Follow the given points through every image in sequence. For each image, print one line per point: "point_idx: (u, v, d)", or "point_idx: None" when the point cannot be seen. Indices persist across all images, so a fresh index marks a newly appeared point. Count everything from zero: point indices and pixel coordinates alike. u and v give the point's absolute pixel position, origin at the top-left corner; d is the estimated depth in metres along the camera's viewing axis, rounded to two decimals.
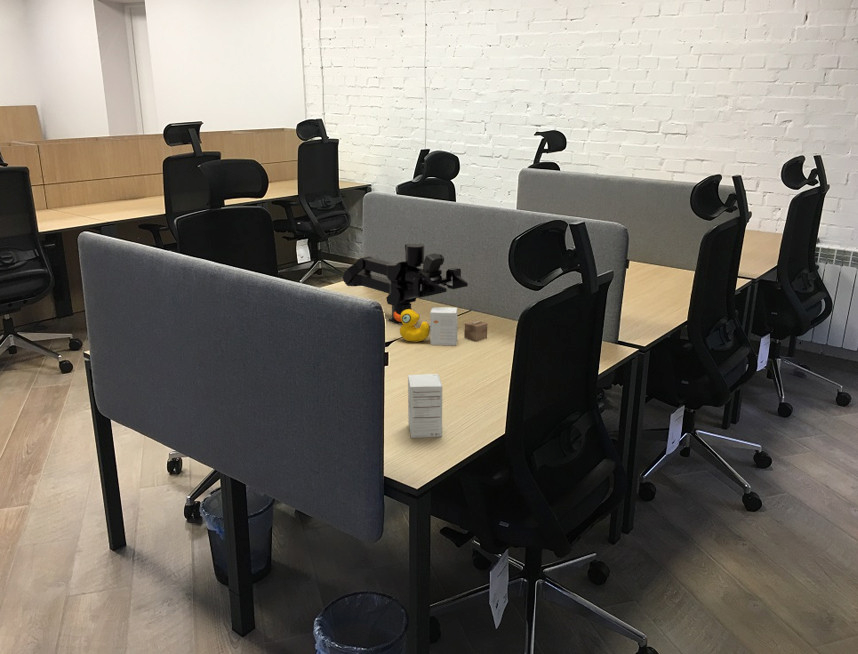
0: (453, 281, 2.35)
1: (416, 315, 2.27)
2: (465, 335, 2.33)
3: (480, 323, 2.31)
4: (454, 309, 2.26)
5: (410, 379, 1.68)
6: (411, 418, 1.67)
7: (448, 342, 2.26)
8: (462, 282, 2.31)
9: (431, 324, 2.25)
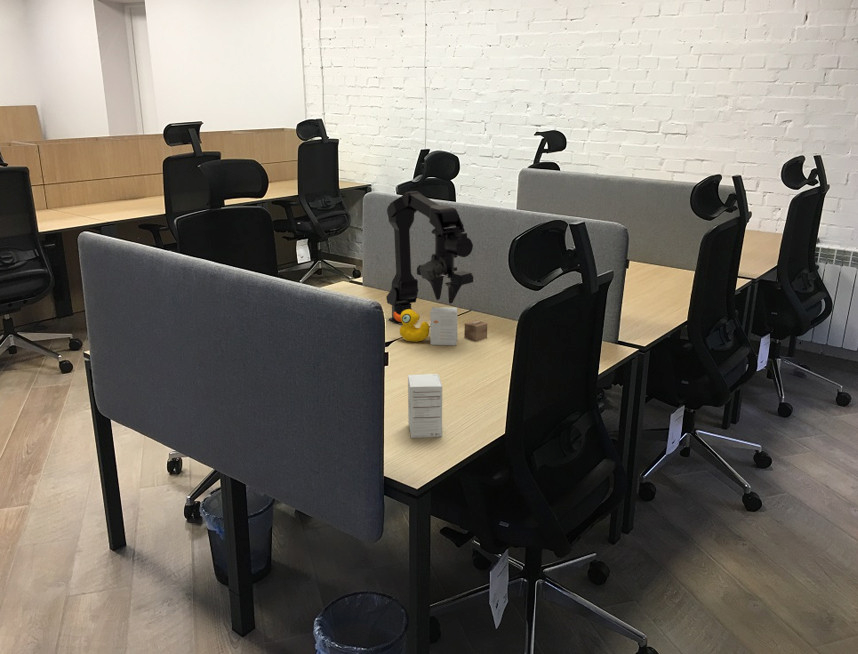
0: None
1: (416, 315, 2.27)
2: (465, 335, 2.33)
3: (480, 323, 2.31)
4: (454, 309, 2.26)
5: (410, 379, 1.68)
6: (411, 418, 1.67)
7: (448, 342, 2.26)
8: None
9: (431, 324, 2.25)
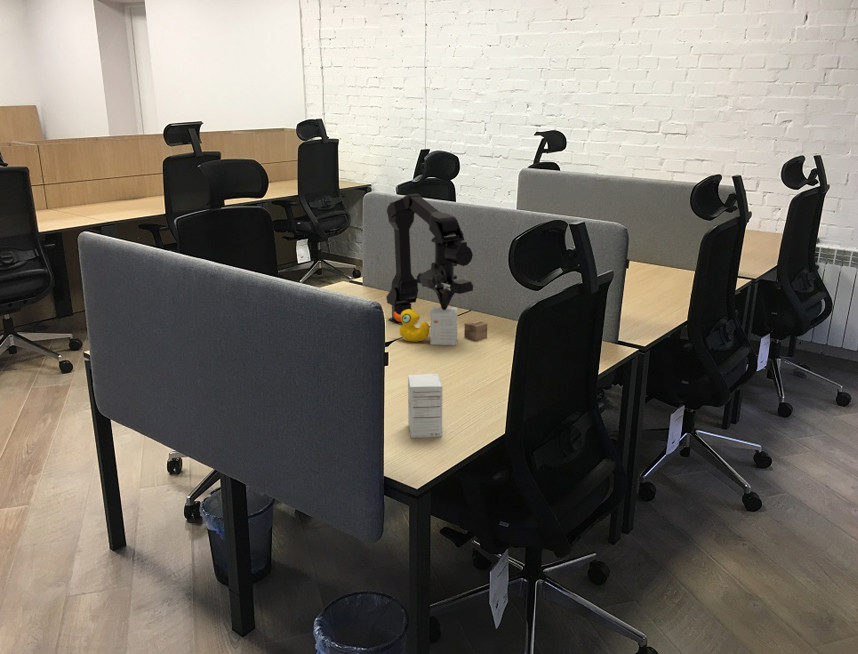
0: None
1: (416, 315, 2.27)
2: (465, 335, 2.33)
3: (480, 323, 2.31)
4: (454, 309, 2.26)
5: (410, 379, 1.68)
6: (411, 418, 1.67)
7: (448, 342, 2.26)
8: None
9: (431, 324, 2.25)
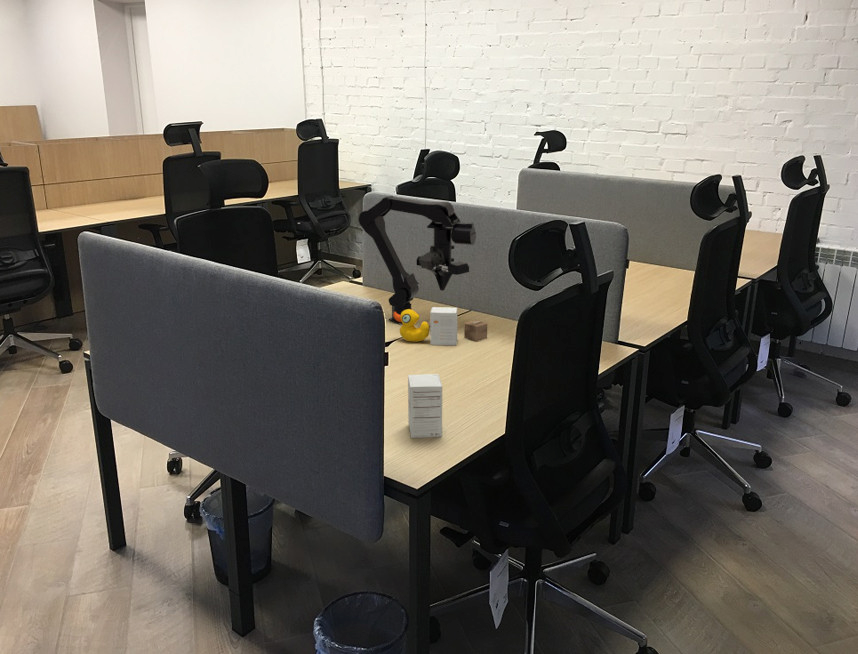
0: None
1: (416, 315, 2.27)
2: (465, 335, 2.33)
3: (480, 323, 2.31)
4: (454, 309, 2.26)
5: (410, 379, 1.68)
6: (411, 418, 1.67)
7: (448, 342, 2.26)
8: None
9: (431, 324, 2.25)
